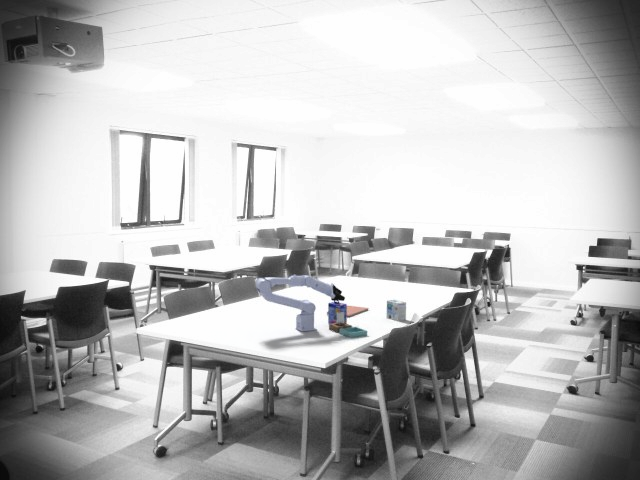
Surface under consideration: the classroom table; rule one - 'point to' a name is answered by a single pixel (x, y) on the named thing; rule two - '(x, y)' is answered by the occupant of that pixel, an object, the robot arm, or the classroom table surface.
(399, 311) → the light bulb box
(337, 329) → the hitch block
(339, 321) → the steel pin
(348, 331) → the tray
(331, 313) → the ink cartridge box
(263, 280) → the robot arm
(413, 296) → the classroom table surface
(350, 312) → the notebook
